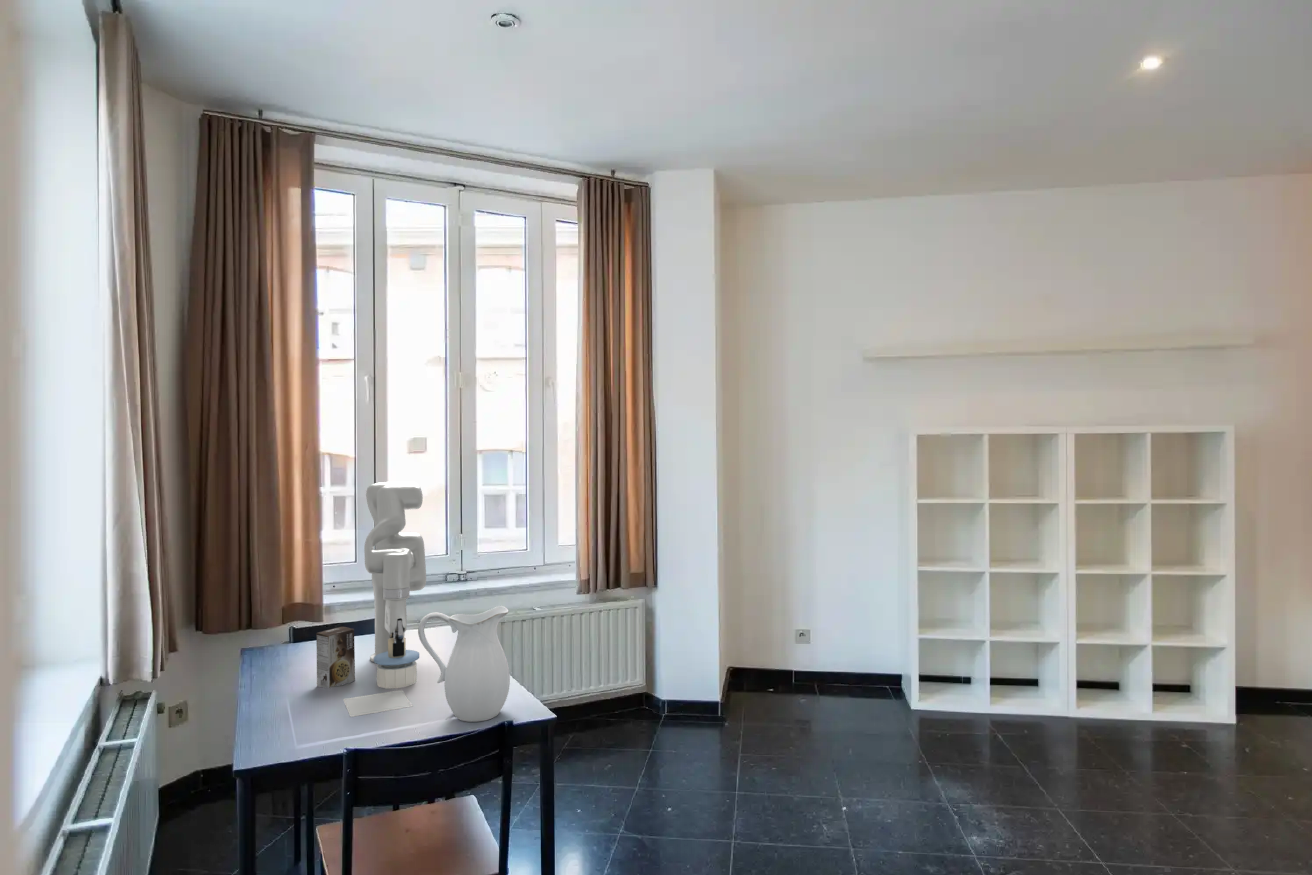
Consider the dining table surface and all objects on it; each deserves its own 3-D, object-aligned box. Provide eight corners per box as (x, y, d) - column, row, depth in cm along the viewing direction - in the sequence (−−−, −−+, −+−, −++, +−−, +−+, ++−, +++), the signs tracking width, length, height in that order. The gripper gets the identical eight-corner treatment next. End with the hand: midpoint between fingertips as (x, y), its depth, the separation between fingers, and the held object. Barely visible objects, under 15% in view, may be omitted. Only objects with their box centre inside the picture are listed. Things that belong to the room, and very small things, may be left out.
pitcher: (514, 703, 211) (513, 602, 211) (504, 725, 194) (503, 616, 194) (427, 704, 210) (427, 604, 210) (410, 727, 193) (409, 618, 193)
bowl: (374, 682, 230) (374, 662, 230) (412, 676, 236) (412, 657, 236) (380, 692, 221) (380, 671, 221) (419, 686, 226) (419, 666, 226)
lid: (370, 656, 231) (370, 637, 231) (414, 650, 237) (414, 631, 237) (377, 667, 219) (377, 647, 220) (423, 661, 226) (423, 641, 226)
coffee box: (342, 677, 235) (341, 625, 235) (355, 681, 231) (355, 628, 232) (315, 686, 227) (315, 632, 227) (329, 689, 224) (329, 634, 224)
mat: (343, 701, 213) (343, 698, 213) (401, 691, 221) (401, 689, 221) (350, 719, 199) (350, 716, 199) (413, 708, 207) (412, 706, 207)
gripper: (378, 589, 234) (379, 648, 234) (388, 599, 219) (388, 662, 219) (403, 587, 238) (404, 645, 238) (415, 596, 223) (415, 658, 223)
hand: (396, 653), depth 228 cm, fingers closed on lid, 4 cm apart
